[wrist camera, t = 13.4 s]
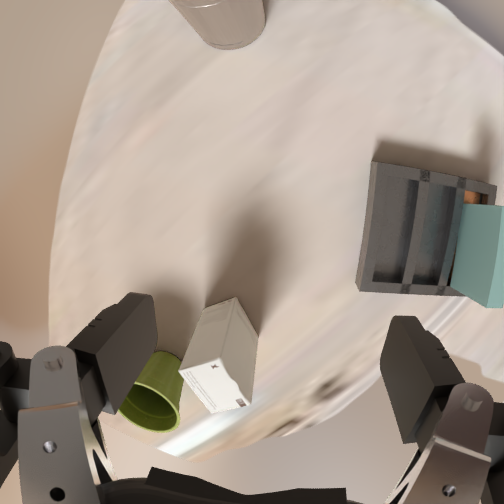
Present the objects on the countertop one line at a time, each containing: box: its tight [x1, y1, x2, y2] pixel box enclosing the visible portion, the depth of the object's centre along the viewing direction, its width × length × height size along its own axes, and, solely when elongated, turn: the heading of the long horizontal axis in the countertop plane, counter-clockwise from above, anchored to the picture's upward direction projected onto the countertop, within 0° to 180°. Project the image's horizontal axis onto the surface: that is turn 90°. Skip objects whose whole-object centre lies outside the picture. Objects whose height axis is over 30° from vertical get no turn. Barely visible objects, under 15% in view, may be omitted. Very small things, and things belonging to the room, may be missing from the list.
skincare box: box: [178, 297, 259, 413], centre depth 40 cm, size 8×6×15 cm
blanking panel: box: [450, 204, 504, 308], centre depth 32 cm, size 12×3×10 cm, turn 177°
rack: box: [355, 161, 497, 296], centre depth 38 cm, size 17×20×3 cm
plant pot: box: [118, 351, 184, 433], centre depth 46 cm, size 12×12×11 cm
